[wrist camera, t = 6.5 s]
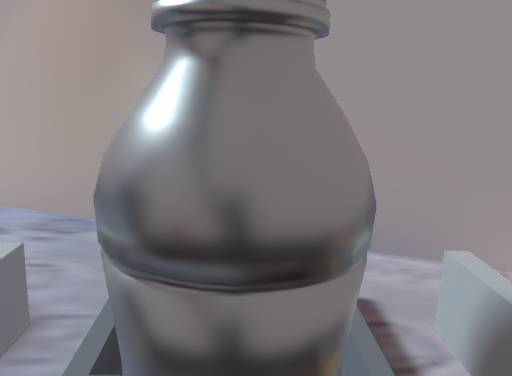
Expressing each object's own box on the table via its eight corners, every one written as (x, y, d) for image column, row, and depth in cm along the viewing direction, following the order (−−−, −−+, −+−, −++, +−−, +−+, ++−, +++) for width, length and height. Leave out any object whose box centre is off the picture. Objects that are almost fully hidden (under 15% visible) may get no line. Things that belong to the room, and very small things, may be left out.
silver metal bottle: (103, 900, 10) (37, -169, 5) (119, 576, 16) (95, -33, 12) (377, 800, 11) (494, -101, 7) (293, 540, 18) (326, -12, 13)
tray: (57, 458, 21) (52, 391, 20) (139, 289, 39) (138, 250, 38) (396, 456, 22) (404, 392, 21) (326, 292, 39) (328, 253, 39)
